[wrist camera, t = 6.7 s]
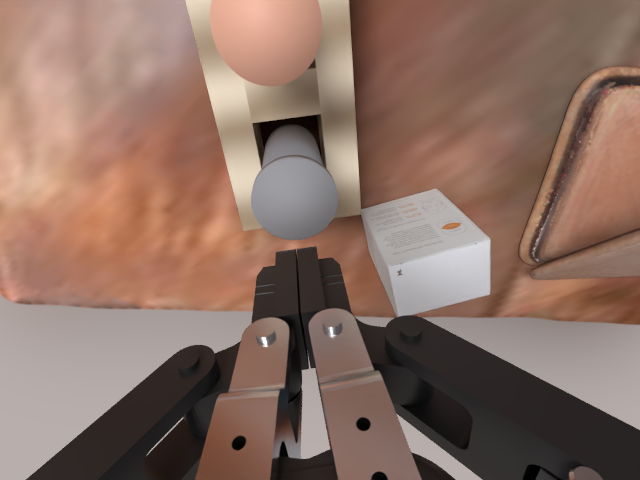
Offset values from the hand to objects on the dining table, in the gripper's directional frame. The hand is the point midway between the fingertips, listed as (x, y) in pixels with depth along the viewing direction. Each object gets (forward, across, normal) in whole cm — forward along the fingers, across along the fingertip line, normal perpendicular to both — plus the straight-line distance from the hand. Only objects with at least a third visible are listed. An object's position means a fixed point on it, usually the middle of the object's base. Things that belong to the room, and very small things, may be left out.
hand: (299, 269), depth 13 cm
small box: (+21, -10, +10) cm, 25 cm away
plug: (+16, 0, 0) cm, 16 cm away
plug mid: (+16, 0, -8) cm, 18 cm away
